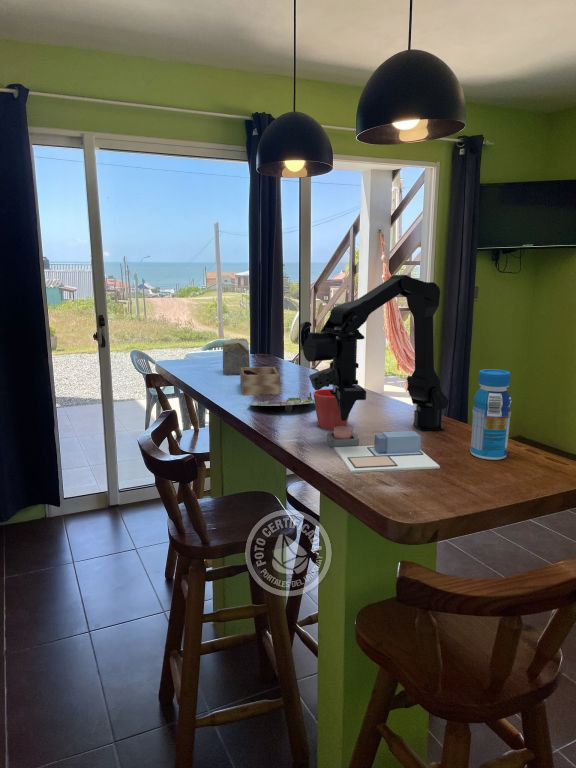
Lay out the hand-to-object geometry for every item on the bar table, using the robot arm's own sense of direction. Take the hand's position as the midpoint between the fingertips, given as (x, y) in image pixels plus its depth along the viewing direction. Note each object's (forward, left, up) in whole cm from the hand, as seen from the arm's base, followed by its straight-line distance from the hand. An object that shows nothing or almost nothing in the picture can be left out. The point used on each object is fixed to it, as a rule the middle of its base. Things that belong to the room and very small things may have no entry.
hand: (343, 420), depth 134 cm
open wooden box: (+15, -67, -6) cm, 69 cm away
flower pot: (-1, -16, -6) cm, 17 cm away
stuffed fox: (+18, -67, -6) cm, 70 cm away
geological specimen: (+22, -100, -6) cm, 103 cm away
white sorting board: (-7, +12, -6) cm, 15 cm away
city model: (+9, -40, -7) cm, 42 cm away
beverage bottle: (-32, +13, -6) cm, 35 cm away
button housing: (0, 0, -6) cm, 6 cm away
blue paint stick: (-11, +9, -5) cm, 15 cm away
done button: (0, 0, -6) cm, 6 cm away
